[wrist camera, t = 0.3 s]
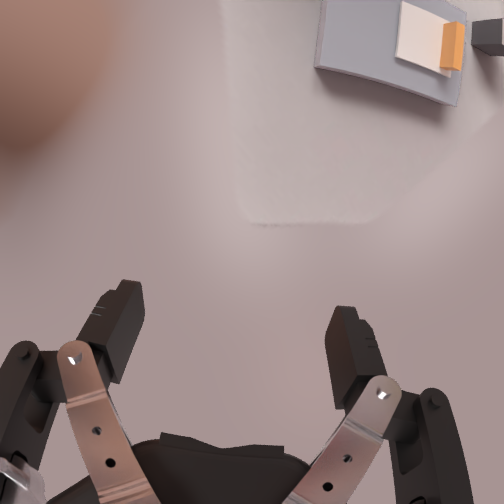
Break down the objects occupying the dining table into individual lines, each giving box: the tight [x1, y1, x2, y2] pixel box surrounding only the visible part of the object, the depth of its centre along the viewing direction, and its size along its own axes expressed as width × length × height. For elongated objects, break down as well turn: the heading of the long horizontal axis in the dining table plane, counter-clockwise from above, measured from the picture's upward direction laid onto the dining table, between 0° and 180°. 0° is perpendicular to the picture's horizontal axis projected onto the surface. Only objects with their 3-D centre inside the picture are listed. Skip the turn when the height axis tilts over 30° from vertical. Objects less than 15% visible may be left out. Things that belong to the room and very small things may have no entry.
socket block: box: [314, 0, 467, 107], centre depth 26 cm, size 14×18×4 cm
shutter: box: [395, 1, 465, 78], centre depth 22 cm, size 8×8×4 cm
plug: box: [471, 18, 504, 56], centre depth 21 cm, size 4×4×8 cm
